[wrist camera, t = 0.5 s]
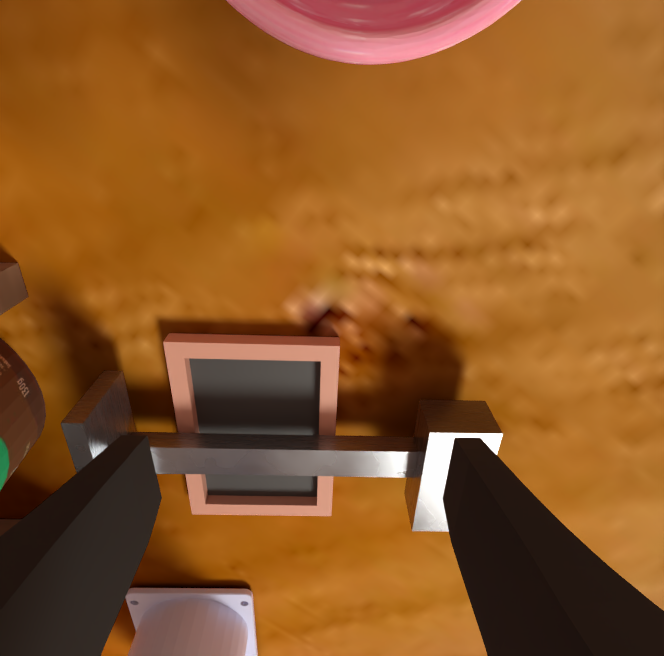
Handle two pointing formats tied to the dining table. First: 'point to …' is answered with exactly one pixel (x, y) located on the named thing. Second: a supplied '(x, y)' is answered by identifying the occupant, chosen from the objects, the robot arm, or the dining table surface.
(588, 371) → the dining table surface
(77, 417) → the grey piece
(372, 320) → the dining table surface
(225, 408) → the picture frame
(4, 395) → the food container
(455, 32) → the pink shallow round bowl
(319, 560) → the dining table surface
